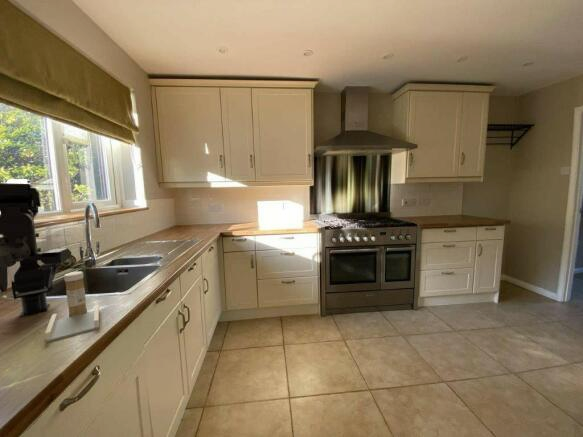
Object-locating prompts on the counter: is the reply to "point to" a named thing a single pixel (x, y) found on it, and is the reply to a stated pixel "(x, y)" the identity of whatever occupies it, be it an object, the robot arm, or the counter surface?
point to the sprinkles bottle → (75, 293)
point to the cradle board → (72, 325)
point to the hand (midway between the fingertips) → (26, 289)
